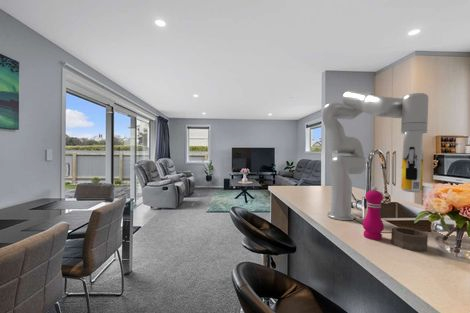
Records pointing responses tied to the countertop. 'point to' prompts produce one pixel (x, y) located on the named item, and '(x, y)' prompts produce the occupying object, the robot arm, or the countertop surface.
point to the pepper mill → (373, 215)
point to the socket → (409, 239)
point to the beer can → (412, 184)
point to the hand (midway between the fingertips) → (411, 178)
